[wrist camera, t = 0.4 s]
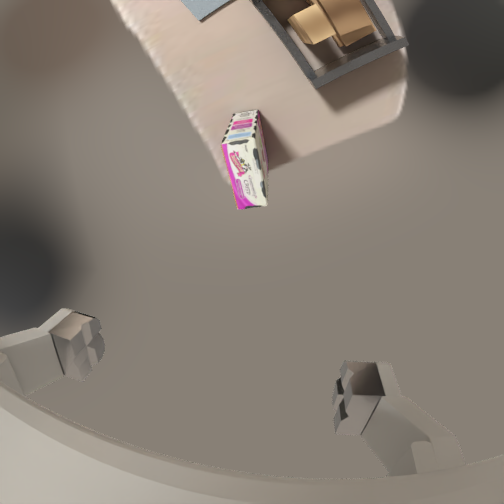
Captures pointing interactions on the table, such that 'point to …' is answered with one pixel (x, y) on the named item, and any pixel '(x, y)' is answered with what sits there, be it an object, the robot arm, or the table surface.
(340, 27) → the offcut stack
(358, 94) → the table surface
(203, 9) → the slate mat
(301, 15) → the tan wooden block
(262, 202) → the candy bar box
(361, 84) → the table surface
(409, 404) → the robot arm
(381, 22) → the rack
